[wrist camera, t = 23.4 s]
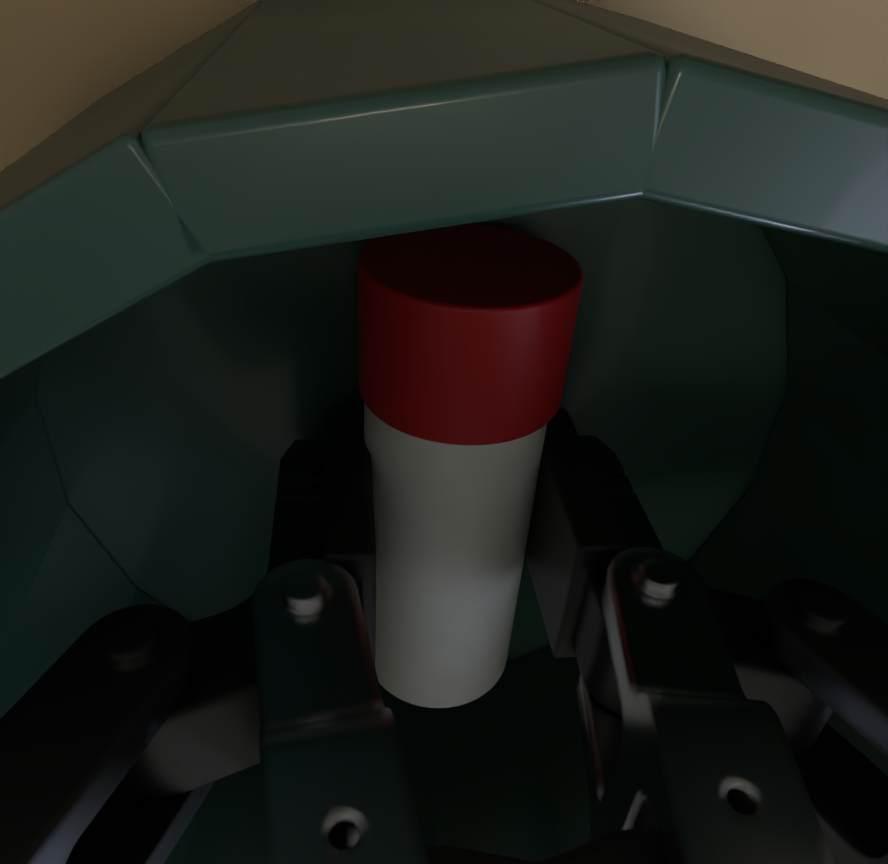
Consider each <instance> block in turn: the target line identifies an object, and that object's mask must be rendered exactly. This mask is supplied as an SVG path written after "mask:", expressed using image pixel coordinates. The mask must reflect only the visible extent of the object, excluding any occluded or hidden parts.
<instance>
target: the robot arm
mask: <svg viewBox="0 0 888 864" xmlns="http://www.w3.org/2000/svg"><path fill="white" fill-rule="evenodd" d="M525 557H526V560H527V564H528V567H529V571H530V574H531V578H532V581H533V585H534V588H535V592H536V596H537V599H538V603H539V606H540V610H541V613H542V617H543V620H544V624H545V627H546V631H547V634H548V638H549V641H550V645H551V649H552V652H553V656H554V658H563V657H576V659H577V662H578V665H579V669H580V676H579V680H578V683H577V688H576V701H577V709H578V716H579V724H580V732H581V739H582V747H583V755H584V763H585V770H586V778H587V786H588V794H589V801H590V835H589V843H587V844H584V845H582V846H579V847H577V848H574V849H572V850H569V851H567V852H564V853H562V854H559V855H557V856H554V857H552V858H550V859H547V860H543V861H529V860H524V859H518V858H513V857H507V856H502V855H497V854H491V853H486V852H481V851H475V850H470V849H465V848H459V847H454V846H448V845H444V846H432V847H425V844H424V840H423V836H422V831H421V827H420V823H419V819H418V814H417V810H416V806H415V802H414V797H413V793H412V789H411V785H410V780H409V776H408V772H407V768H406V763H405V759H404V755H403V751H402V746H401V742H400V738H399V734H398V729H397V725H396V722H395V719H394V716H393V713H392V711H391V709H390V708H389V707H388V708H385V706H384V703H383V699H382V695H381V691H380V686H379V682H378V677H377V673H376V669H375V642H376V539H375V521H374V502H373V483H372V464H371V454H370V453H369V451H368V449H367V447H366V444H365V440H364V410H326V434H325V439H305V440H295V441H294V442H293V443H292V445H291V446H290V447H289V448H288V450H287V451H286V452H285V454H284V455H283V456H282V457H281V459H280V468H279V476H278V485H277V494H276V503H275V511H274V520H273V529H272V537H271V546H270V555H269V564H268V570H267V574H266V575H265V576H264V577H263V578H262V579H261V581H260V582H259V583H258V585H257V586H256V588H255V590H254V594H253V595H251V596H250V597H249V598H248V599H247V600H245V601H244V602H242V603H241V604H239V605H238V606H236V607H234V608H232V609H230V610H227V611H225V612H222V613H219V614H216V615H213V616H209V617H206V618H203V619H200V620H196V621H193V622H190V623H188V622H187V620H186V619H185V618H184V617H183V616H182V615H181V614H180V613H178V612H177V611H175V610H173V609H171V608H168V607H165V606H161V605H153V604H143V605H135V606H129V607H126V608H122V609H119V610H117V611H114V612H112V613H110V614H108V615H106V616H104V617H102V618H101V619H99V620H98V621H96V622H95V623H93V624H92V625H91V626H90V627H89V628H88V629H87V630H86V631H85V632H84V633H83V634H82V635H81V636H80V637H79V638H78V639H77V640H76V641H75V642H74V643H73V644H72V645H71V646H70V647H69V648H68V649H67V650H66V651H65V652H64V653H63V654H62V655H61V657H60V658H59V659H58V660H57V661H56V662H55V663H54V664H53V665H52V666H51V667H50V668H49V669H48V670H47V671H46V672H45V673H44V674H43V675H42V676H41V677H40V678H39V679H38V680H37V681H36V683H35V684H34V685H33V686H32V687H31V688H30V689H29V690H28V691H27V692H26V693H25V694H24V695H23V696H22V697H21V698H20V699H19V700H18V701H17V702H16V703H15V704H14V705H13V706H12V708H11V709H10V710H9V711H8V712H7V713H6V714H5V715H4V716H3V717H2V718H1V719H0V864H164V862H165V861H166V859H167V858H168V856H169V855H170V853H171V851H172V850H173V848H174V847H175V845H176V843H177V842H178V840H179V839H180V837H181V835H182V834H183V832H184V831H185V829H186V828H187V826H188V824H189V823H190V821H191V820H192V818H193V816H194V815H195V813H196V812H197V810H198V809H199V807H200V805H201V804H202V802H203V801H204V799H205V797H206V796H207V794H208V793H209V791H210V789H211V787H212V786H213V784H214V781H216V780H218V779H221V778H223V777H226V776H228V775H231V774H234V773H236V772H239V771H241V770H244V769H246V768H249V767H251V766H254V765H256V764H259V763H260V764H261V779H262V794H263V809H264V824H265V840H266V855H267V864H888V776H887V775H886V774H885V773H884V772H883V771H881V770H880V769H879V768H878V767H877V766H876V765H875V764H874V763H872V762H871V761H870V760H869V759H868V758H867V757H866V756H864V755H863V754H862V753H861V752H860V751H859V750H858V749H857V748H855V747H854V746H853V745H852V744H851V743H850V742H849V741H848V740H846V739H845V738H844V737H843V736H842V735H841V734H840V733H839V732H837V731H836V730H835V729H834V728H833V727H832V726H831V725H830V724H828V723H827V721H828V719H829V718H830V716H831V715H832V713H833V711H834V712H836V713H837V714H838V715H839V716H840V717H841V718H842V719H844V720H845V721H846V722H847V723H848V724H849V725H850V726H852V727H853V728H854V729H855V730H856V731H857V732H859V733H860V734H861V735H862V736H863V737H864V738H865V739H867V740H868V741H869V742H870V743H871V744H872V745H873V746H875V747H876V748H877V749H878V750H879V751H880V752H882V753H883V754H884V755H885V756H886V757H887V758H888V625H887V624H886V623H884V622H883V621H882V620H880V619H879V618H878V617H876V616H875V615H874V614H872V613H871V612H869V611H868V610H867V609H865V608H864V607H863V606H861V605H860V604H859V603H857V602H856V601H855V600H853V599H852V598H850V597H849V596H848V595H846V594H845V593H843V592H841V591H839V590H838V589H836V588H834V587H832V586H829V585H827V584H824V583H821V582H818V581H814V580H809V579H801V578H793V579H786V580H783V581H780V582H778V583H776V584H775V585H774V586H773V587H772V588H771V589H770V590H769V593H768V595H767V597H766V599H765V600H762V599H757V598H752V597H747V596H743V595H738V594H733V593H729V592H724V591H720V590H716V589H713V588H710V587H708V586H706V584H705V582H704V580H703V578H702V576H701V575H700V574H699V572H698V571H697V570H696V569H695V568H694V567H693V566H692V565H691V564H690V563H688V562H687V561H686V560H684V559H683V558H681V557H679V556H677V555H675V554H673V553H671V552H668V551H665V550H664V548H663V547H662V545H661V543H660V541H659V539H658V537H657V535H656V533H655V531H654V529H653V527H652V525H651V523H650V521H649V519H648V517H647V515H646V513H645V511H644V509H643V507H642V505H641V503H640V501H639V499H638V497H637V495H636V493H633V487H632V485H631V483H630V481H629V479H628V477H625V471H624V469H623V467H622V465H621V463H620V461H619V459H618V457H617V456H616V454H615V452H614V451H613V450H611V449H610V448H609V447H608V446H607V445H606V444H604V443H603V442H602V441H601V440H600V439H599V438H597V437H596V436H595V435H578V433H577V431H576V428H575V426H574V424H573V422H572V419H571V417H570V415H569V413H568V411H567V410H566V408H559V409H558V411H557V413H556V414H555V416H554V417H553V418H552V419H551V420H550V421H549V422H548V423H547V427H546V433H545V439H544V445H543V450H542V456H541V462H540V468H539V474H538V480H537V485H536V491H535V497H534V503H533V509H532V515H531V521H530V527H529V533H528V538H527V544H526V550H525Z"/></svg>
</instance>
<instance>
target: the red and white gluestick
mask: <svg viewBox="0 0 888 864" xmlns="http://www.w3.org/2000/svg"><path fill="white" fill-rule="evenodd" d="M582 284H583V272H582V269H581V266H580V264H579V263H578V261H577V260H576V259H575V258H574V257H573V256H572V255H571V254H570V253H568V252H567V251H566V250H564V249H562V248H561V247H559V246H557V245H555V244H553V243H551V242H549V241H547V240H544V239H542V238H539V237H536V236H533V235H530V234H527V233H524V232H520V231H516V230H512V229H507V228H502V227H495V226H489V225H480V224H462V225H455V226H449V227H442V228H436V229H429V230H422V231H416V232H409V233H403V234H396V235H389V236H383V237H376V238H374V239H372V240H371V241H369V242H368V243H367V244H366V245H365V246H364V247H363V248H362V250H361V251H360V254H359V257H358V383H359V391H360V395H361V397H362V399H363V401H364V440H365V444H366V447H367V449H368V451H369V453H370V454H371V464H372V483H373V502H374V521H375V539H376V642H375V669H376V673H377V677H378V682H379V683H380V684H381V685H382V686H383V687H384V688H385V689H386V690H387V691H388V692H390V693H391V694H392V695H394V696H396V697H397V698H399V699H401V700H403V701H406V702H408V703H411V704H414V705H417V706H422V707H428V708H450V707H455V706H460V705H463V704H466V703H469V702H471V701H473V700H476V699H477V698H479V697H481V696H482V695H484V694H485V693H486V692H487V691H489V690H490V689H491V688H492V687H493V686H494V685H495V684H496V683H497V681H498V680H499V678H500V677H501V675H502V673H503V671H504V669H505V665H506V662H507V656H508V651H509V645H510V639H511V633H512V627H513V621H514V615H515V609H516V603H517V598H518V592H519V586H520V580H521V574H522V568H523V562H524V556H525V550H526V544H527V538H528V533H529V527H530V521H531V515H532V509H533V503H534V497H535V491H536V485H537V480H538V474H539V468H540V462H541V456H542V450H543V445H544V439H545V433H546V427H547V423H548V422H549V421H550V420H551V419H552V418H553V417H554V416H555V414H556V413H557V411H558V409H559V407H560V404H561V401H562V395H563V390H564V384H565V378H566V373H567V367H568V362H569V356H570V351H571V345H572V340H573V334H574V328H575V323H576V317H577V312H578V306H579V301H580V295H581V289H582Z"/></svg>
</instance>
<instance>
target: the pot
mask: <svg viewBox="0 0 888 864" xmlns="http://www.w3.org/2000/svg"><path fill="white" fill-rule="evenodd" d="M462 224H480V225H489V226H495V227H502V228H507V229H512V230H516V231H520V232H524V233H527V234H530V235H533V236H536V237H539V238H542V239H544V240H547V241H549V242H551V243H553V244H555V245H557V246H559V247H561V248H562V249H564V250H566V251H567V252H568V253H570V254H571V255H572V256H573V257H574V258H575V259H576V260H577V261H578V263H579V264H580V266H581V269H582V272H583V284H582V289H581V295H580V301H579V306H578V312H577V317H576V323H575V328H574V334H573V340H572V345H571V351H570V356H569V362H568V367H567V373H566V378H565V384H564V390H563V395H562V401H561V404H560V407H559V408H566V410H567V411H568V413H569V415H570V417H571V419H572V422H573V424H574V426H575V428H576V431H577V433H578V435H595V436H596V437H597V438H599V439H600V440H601V441H602V442H603V443H604V444H606V445H607V446H608V447H609V448H610V449H611V450H613V451H614V452H615V454H616V456H617V457H618V459H619V461H620V463H621V465H622V467H623V469H624V471H625V477H628V479H629V481H630V483H631V485H632V487H633V493H636V495H637V497H638V499H639V501H640V503H641V505H642V507H643V509H644V511H645V513H646V515H647V517H648V519H649V521H650V523H651V525H652V527H653V529H654V531H655V533H656V535H657V537H658V539H659V541H660V543H661V545H662V547H663V548H664V550H665V551H668V552H671V553H673V554H675V555H677V556H679V557H681V558H683V559H684V560H686V561H687V562H688V563H690V564H691V565H692V566H693V567H694V568H695V569H696V570H697V571H698V572H699V574H700V575H701V576H702V578H703V580H704V582H705V584H706V586H708V587H710V588H713V589H716V590H720V591H724V592H729V593H733V594H738V595H743V596H747V597H752V598H757V599H762V600H765V599H766V597H767V595H768V593H769V590H770V589H771V588H772V587H773V586H774V585H775V584H776V583H778V582H780V581H783V580H786V579H793V578H801V579H809V580H814V581H818V582H821V583H824V584H827V585H829V586H832V587H834V588H836V589H838V590H839V591H841V592H843V593H845V594H846V595H848V596H849V597H850V598H852V599H853V600H855V601H856V602H857V603H859V604H860V605H861V606H863V607H864V608H865V609H867V610H868V611H869V612H871V613H872V614H874V615H875V616H876V617H878V618H879V619H880V620H882V621H883V622H884V623H886V624H887V625H888V100H887V99H884V98H881V97H878V96H875V95H871V94H868V93H865V92H862V91H859V90H856V89H853V88H850V87H847V86H844V85H841V84H838V83H835V82H832V81H828V80H825V79H822V78H819V77H816V76H813V75H810V74H807V73H804V72H801V71H798V70H795V69H792V68H789V67H785V66H782V65H779V64H776V63H773V62H770V61H767V60H764V59H761V58H758V57H755V56H752V55H749V54H746V53H743V52H739V51H736V50H733V49H730V48H727V47H724V46H721V45H718V44H715V43H712V42H709V41H706V40H703V39H700V38H696V37H693V36H690V35H687V34H684V33H681V32H678V31H675V30H672V29H669V28H666V27H663V26H660V25H657V24H653V23H650V22H647V21H644V20H641V19H637V18H634V17H630V16H627V15H623V14H619V13H616V12H612V11H609V10H605V9H602V8H598V7H595V6H591V5H588V4H584V3H581V2H577V1H574V0H265V1H264V2H263V1H262V0H261V1H257V2H255V3H254V4H252V5H251V6H249V7H247V8H246V9H244V10H243V11H241V12H239V13H238V14H236V15H235V16H233V17H231V18H230V19H228V20H226V21H225V22H223V23H222V24H220V25H218V26H217V27H215V28H214V29H212V30H210V31H209V32H207V33H206V34H204V35H202V36H201V37H199V38H197V39H196V40H194V41H192V42H190V43H188V44H186V45H184V46H183V47H181V48H180V49H179V50H177V51H176V52H175V53H173V54H172V55H170V56H168V57H167V58H165V59H164V60H162V61H160V62H159V63H157V64H156V65H154V66H152V67H151V68H149V69H148V70H146V71H144V72H143V73H141V74H139V75H138V76H136V77H135V78H133V79H131V80H130V81H128V82H127V83H125V84H123V85H122V86H120V87H119V88H117V89H115V90H114V91H112V92H110V93H109V94H107V95H106V96H104V97H102V98H101V99H99V100H98V101H96V102H95V103H94V104H92V105H91V106H90V107H88V108H87V109H86V110H84V111H83V112H81V113H80V114H79V115H77V116H76V117H75V118H73V119H72V120H71V121H69V122H68V123H67V124H65V125H64V126H63V127H61V128H60V129H58V130H57V131H56V132H54V133H53V134H52V135H50V136H49V137H48V138H46V139H45V140H44V141H42V142H41V143H40V144H38V145H37V146H36V147H34V148H33V149H31V150H30V151H29V152H27V153H26V154H25V155H23V156H22V157H21V158H19V159H18V160H17V161H15V162H14V163H13V164H11V165H10V166H8V167H7V168H6V169H4V170H3V171H2V172H0V719H1V718H2V717H3V716H4V715H5V714H6V713H7V712H8V711H9V710H10V709H11V708H12V706H13V705H14V704H15V703H16V702H17V701H18V700H19V699H20V698H21V697H22V696H23V695H24V694H25V693H26V692H27V691H28V690H29V689H30V688H31V687H32V686H33V685H34V684H35V683H36V681H37V680H38V679H39V678H40V677H41V676H42V675H43V674H44V673H45V672H46V671H47V670H48V669H49V668H50V667H51V666H52V665H53V664H54V663H55V662H56V661H57V660H58V659H59V658H60V657H61V655H62V654H63V653H64V652H65V651H66V650H67V649H68V648H69V647H70V646H71V645H72V644H73V643H74V642H75V641H76V640H77V639H78V638H79V637H80V636H81V635H82V634H83V633H84V632H85V631H86V630H87V629H88V628H89V627H90V626H91V625H92V624H93V623H95V622H96V621H98V620H99V619H101V618H102V617H104V616H106V615H108V614H110V613H112V612H114V611H117V610H119V609H122V608H126V607H129V606H135V605H143V604H153V605H161V606H165V607H168V608H171V609H173V610H175V611H177V612H178V613H180V614H181V615H182V616H183V617H184V618H185V619H186V620H187V622H188V623H190V622H193V621H196V620H200V619H203V618H206V617H209V616H213V615H216V614H219V613H222V612H225V611H227V610H230V609H232V608H234V607H236V606H238V605H239V604H241V603H242V602H244V601H245V600H247V599H248V598H249V597H250V596H251V595H253V594H254V590H255V588H256V586H257V585H258V583H259V582H260V581H261V579H262V578H263V577H264V576H265V575H266V574H267V570H268V564H269V555H270V546H271V537H272V529H273V520H274V511H275V503H276V494H277V485H278V476H279V468H280V459H281V457H282V456H283V455H284V454H285V452H286V451H287V450H288V448H289V447H290V446H291V445H292V443H293V442H294V441H295V440H305V439H325V434H326V410H364V401H363V399H362V397H361V395H360V391H359V383H358V257H359V254H360V251H361V250H362V248H363V247H364V246H365V245H366V244H367V243H368V242H369V241H371V240H372V239H374V238H376V237H383V236H389V235H396V234H403V233H409V232H416V231H422V230H429V229H436V228H442V227H449V226H455V225H462ZM579 676H580V669H579V665H578V662H577V659H576V657H563V658H554V656H553V652H552V649H551V645H550V641H549V638H548V634H547V631H546V627H545V624H544V620H543V617H542V613H541V610H540V606H539V603H538V599H537V596H536V592H535V588H534V585H533V581H532V578H531V574H530V571H529V567H528V564H527V560H526V557H525V556H524V562H523V568H522V574H521V580H520V586H519V592H518V598H517V603H516V609H515V615H514V621H513V627H512V633H511V639H510V645H509V651H508V656H507V662H506V665H505V669H504V671H503V673H502V675H501V677H500V678H499V680H498V681H497V683H496V684H495V685H494V686H493V687H492V688H491V689H490V690H489V691H487V692H486V693H485V694H484V695H482V696H481V697H479V698H477V699H476V700H473V701H471V702H469V703H466V704H463V705H460V706H455V707H450V708H428V707H422V706H417V705H414V704H411V703H408V702H406V701H403V700H401V699H399V698H397V697H396V696H394V695H392V694H391V693H390V692H388V691H387V690H386V689H385V688H384V687H383V686H382V685H381V684H380V683H379V686H380V691H381V695H382V699H383V703H384V706H385V708H388V707H389V708H390V709H391V711H392V713H393V716H394V719H395V722H396V725H397V729H398V734H399V738H400V742H401V746H402V751H403V755H404V759H405V763H406V768H407V772H408V776H409V780H410V785H411V789H412V793H413V797H414V802H415V806H416V810H417V814H418V819H419V823H420V827H421V831H422V836H423V840H424V844H425V847H432V846H444V845H448V846H454V847H459V848H465V849H470V850H475V851H481V852H486V853H491V854H497V855H502V856H507V857H513V858H518V859H524V860H529V861H543V860H547V859H550V858H552V857H554V856H557V855H559V854H562V853H564V852H567V851H569V850H572V849H574V848H577V847H579V846H582V845H584V844H587V843H589V835H590V801H589V794H588V786H587V778H586V770H585V763H584V755H583V747H582V739H581V732H580V724H579V716H578V709H577V701H576V688H577V683H578V680H579ZM827 723H828V724H830V725H831V726H832V727H833V728H834V729H835V730H836V731H837V732H839V733H840V734H841V735H842V736H843V737H844V738H845V739H846V740H848V741H849V742H850V743H851V744H852V745H853V746H854V747H855V748H857V749H858V750H859V751H860V752H861V753H862V754H863V755H864V756H866V757H867V758H868V759H869V760H870V761H871V762H872V763H874V764H875V765H876V766H877V767H878V768H879V769H880V770H881V771H883V772H884V773H885V774H886V775H887V776H888V758H887V757H886V756H885V755H884V754H883V753H882V752H880V751H879V750H878V749H877V748H876V747H875V746H873V745H872V744H871V743H870V742H869V741H868V740H867V739H865V738H864V737H863V736H862V735H861V734H860V733H859V732H857V731H856V730H855V729H854V728H853V727H852V726H850V725H849V724H848V723H847V722H846V721H845V720H844V719H842V718H841V717H840V716H839V715H838V714H837V713H836V712H834V711H833V713H832V715H831V716H830V718H829V719H828V721H827ZM164 864H267V855H266V840H265V824H264V809H263V794H262V779H261V764H260V763H259V764H256V765H254V766H251V767H249V768H246V769H244V770H241V771H239V772H236V773H234V774H231V775H228V776H226V777H223V778H221V779H218V780H216V781H214V784H213V786H212V787H211V789H210V791H209V793H208V794H207V796H206V797H205V799H204V801H203V802H202V804H201V805H200V807H199V809H198V810H197V812H196V813H195V815H194V816H193V818H192V820H191V821H190V823H189V824H188V826H187V828H186V829H185V831H184V832H183V834H182V835H181V837H180V839H179V840H178V842H177V843H176V845H175V847H174V848H173V850H172V851H171V853H170V855H169V856H168V858H167V859H166V861H165V862H164Z"/></svg>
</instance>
